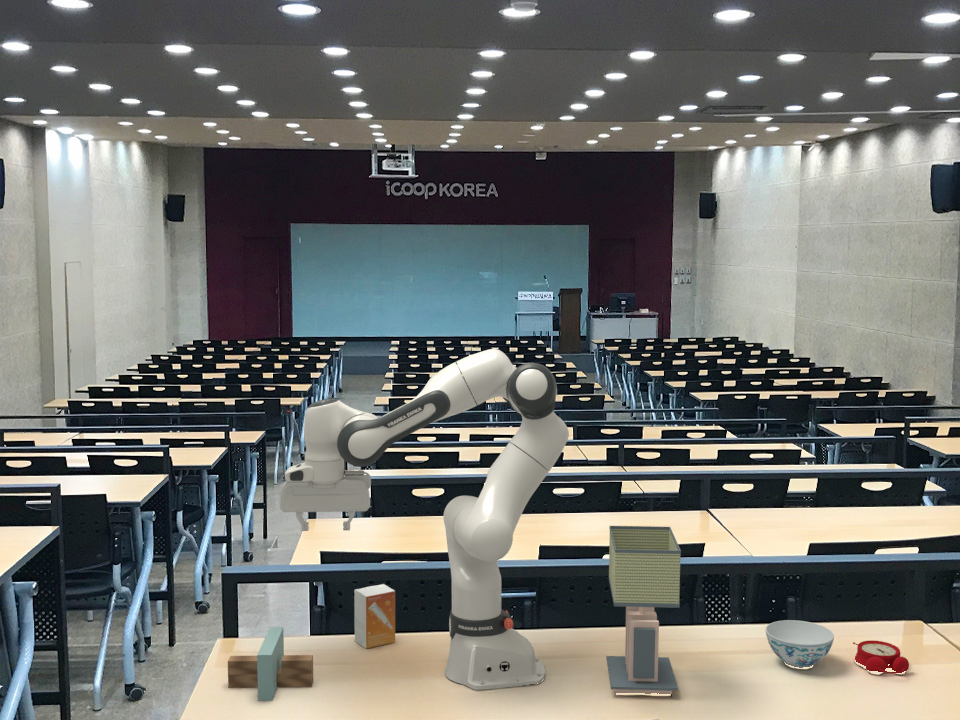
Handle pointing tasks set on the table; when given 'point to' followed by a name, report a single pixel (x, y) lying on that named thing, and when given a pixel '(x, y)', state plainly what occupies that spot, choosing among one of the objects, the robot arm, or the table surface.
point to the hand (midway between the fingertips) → (325, 530)
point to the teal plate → (269, 663)
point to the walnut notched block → (289, 675)
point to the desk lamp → (643, 604)
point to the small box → (374, 615)
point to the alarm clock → (880, 656)
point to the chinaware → (799, 642)
